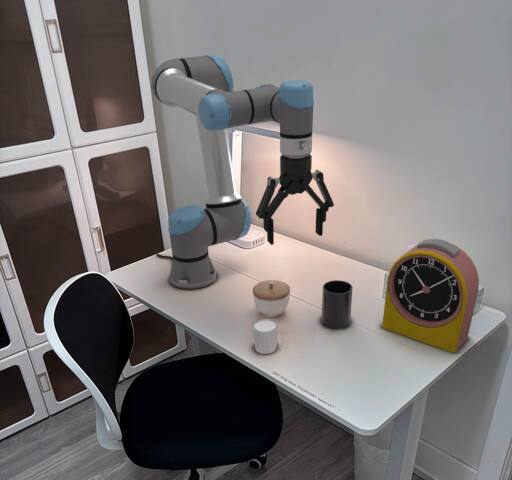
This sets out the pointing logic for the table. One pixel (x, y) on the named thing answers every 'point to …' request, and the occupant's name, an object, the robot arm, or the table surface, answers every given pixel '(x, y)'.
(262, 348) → the white cylinder
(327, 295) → the pen cup
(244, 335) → the table surface
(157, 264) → the table surface
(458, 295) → the alarm clock
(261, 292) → the trinket box
